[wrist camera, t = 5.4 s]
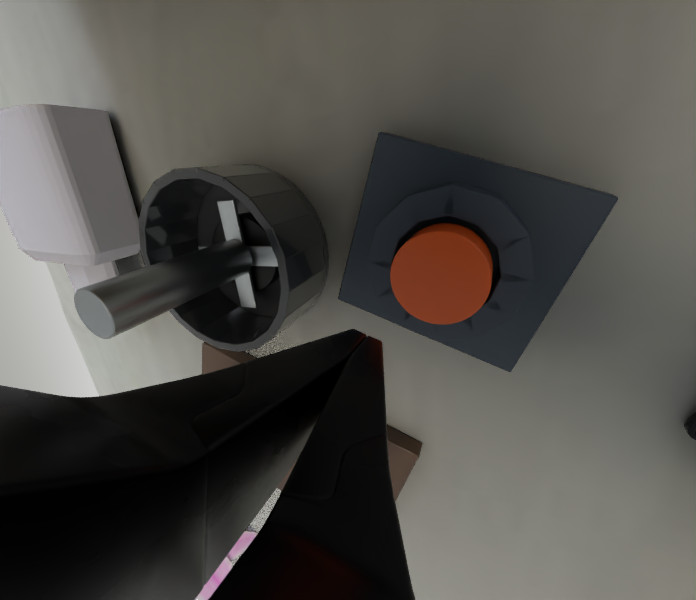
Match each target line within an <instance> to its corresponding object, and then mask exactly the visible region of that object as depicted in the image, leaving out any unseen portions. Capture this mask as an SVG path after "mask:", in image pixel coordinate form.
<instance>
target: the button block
mask: <svg viewBox="0 0 696 600" xmlns="http://www.w3.org/2000/svg"><path fill="white" fill-rule="evenodd" d="M617 200H618V197H617V196H614V195H612V194H609V193H605V192H602V191H598V190H594V189H591V188H587V187H583V186H580V185H576V184H572V183H569V182H565V181H562V180H558V179H554V178H551V177H547V176H543V175H540V174H536V173H532V172H529V171H525V170H521V169H518V168H514V167H510V166H507V165H503V164H499V163H496V162H492V161H488V160H485V159H481V158H477V157H474V156H470V155H466V154H463V153H459V152H455V151H452V150H448V149H445V148H441V147H437V146H434V145H430V144H426V143H423V142H419V141H415V140H412V139H408V138H404V137H401V136H397V135H393V134H390V133H385V132H379V134H378V138H377V142H376V146H375V150H374V154H373V158H372V162H371V166H370V170H369V175H368V179H367V183H366V187H365V191H364V195H363V199H362V203H361V207H360V211H359V215H358V219H357V223H356V227H355V231H354V235H353V240H352V244H351V248H350V252H349V256H348V260H347V264H346V268H345V272H344V276H343V280H342V284H341V288H340V292H339V296H338V299H339V300H342V301H344V302H346V303H349V304H351V305H353V306H356V307H358V308H360V309H363V310H365V311H368V312H370V313H372V314H375V315H377V316H379V317H382V318H384V319H386V320H389V321H391V322H393V323H396V324H398V325H400V326H402V327H404V328H407V329H409V330H411V331H414V332H416V333H419V334H421V335H423V336H426V337H428V338H430V339H433V340H436V341H438V342H440V343H443V344H445V345H447V346H450V347H452V348H454V349H457V350H459V351H461V352H464V353H466V354H468V355H471V356H473V357H475V358H478V359H480V360H483V361H485V362H487V363H490V364H492V365H494V366H497V367H499V368H501V369H504V370H506V371H508V372H511V371H512V369H513V367H514V366H515V364H516V363H517V361H518V359H519V358H520V356H521V355H522V353H523V351H524V350H525V348H526V347H527V345H528V343H529V342H530V340H531V339H532V337H533V335H534V334H535V332H536V330H537V329H538V327H539V326H540V324H541V322H542V321H543V319H544V318H545V316H546V314H547V313H548V311H549V310H550V308H551V306H552V305H553V303H554V302H555V300H556V298H557V297H558V295H559V294H560V292H561V290H562V289H563V287H564V285H565V284H566V282H567V281H568V279H569V277H570V276H571V274H572V273H573V271H574V269H575V268H576V266H577V265H578V263H579V261H580V260H581V258H582V257H583V255H584V253H585V252H586V250H587V249H588V247H589V245H590V244H591V242H592V240H593V239H594V237H595V236H596V234H597V232H598V231H599V229H600V228H601V226H602V224H603V223H604V221H605V220H606V218H607V216H608V215H609V213H610V212H611V210H612V208H613V207H614V205H615V203H616V202H617ZM438 223H454V224H458V225H462V226H464V227H467V228H469V229H470V230H472V231H474V232H475V233H476V234H478V235H479V236H480V237H481V238H482V239H483V241H484V242H485V243H486V245H487V247H488V248H489V251H490V253H491V256H492V261H493V272H492V283H491V289H490V293H489V295H488V298H487V300H486V301H485V303H484V304H483V306H482V307H481V308H480V309H479V310H478V311H477V312H476V313H475V314H473V315H472V316H471V317H469V318H467V319H465V320H463V321H460V322H457V323H453V324H432V323H428V322H425V321H422V320H420V319H418V318H416V317H414V316H413V315H411V314H410V313H408V312H407V311H406V310H405V309H404V308H403V307H402V306H401V304H400V303H399V302H398V300H397V299H396V297H395V295H394V292H393V290H392V286H391V281H390V271H391V265H392V262H393V259H394V257H395V255H396V253H397V252H398V250H399V249H400V248H401V247H402V246H403V245H404V244H405V243H406V242H407V241H408V240H409V239H410V238H411V237H412V236H413V235H414V234H415V233H417V232H418V231H419V230H421V229H423V228H425V227H427V226H430V225H433V224H438Z"/></svg>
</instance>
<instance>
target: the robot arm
mask: <svg viewBox="0 0 696 600" xmlns="http://www.w3.org/2000/svg"><path fill="white" fill-rule="evenodd" d="M684 428H685V430H686V431H687V433H688V434H689V435H690V437H692V438H693V439H695V440H696V412H695V413H694V414H693V415H692V416H691V417H690V418H689V419H688V420H687V421H686V422H685V424H684ZM297 459H298V460H297ZM296 461H297V462H296ZM295 462H296V464H295V466H294V468H293V470H292V472H291V474H290V476H289V478H288V480H287V482H286V484H285V486H284V488H283V490H282V492H281V494H280V497H279V498H278V500H277V502H276V504H275V506H274V508H273V509H272V511H271V513H270V515H269V517H268V518H267V520H266V522H265V524H264V525H263V527H262V529H261V530H260V531H259V533H258V534H257V535H256V537H255V538H254V539H253V541H252V542H251V543H250V545H249V546H248V547H247V549H246V550H245V551H244V553H243V554H242V555H241V557H240V558H239V559H238V561H237V562H236V563H235V565H234V566H233V567H232V569H231V570H230V571H229V573H228V574H227V575H226V577H225V578H224V579H223V581H222V582H221V583H220V585H219V586H218V587H217V589H216V590H215V591H214V593H213V594H212V595H211V597H210V598H209V599H208V600H415V596H414V592H413V589H412V584H411V579H410V575H409V570H408V565H407V560H406V555H405V550H404V545H403V540H402V535H401V529H400V524H399V519H398V514H397V509H396V504H395V499H394V493H393V487H392V481H391V475H390V465H389V454H388V438H387V423H386V404H385V385H384V366H383V347H382V342H381V341H380V340H378V339H375V338H373V337H371V336H366V334H364V333H362V332H359V331H357V330H355V329H351V330H347V331H344V332H341V333H338V334H335V335H331V336H328V337H325V338H322V339H318V340H315V341H312V342H309V343H306V344H302V345H299V346H296V347H293V348H290V349H286V350H283V351H280V352H277V353H273V354H270V355H267V356H264V357H261V358H257V359H254V360H251V361H248V362H247V365H246V363H241V364H238V365H234V366H231V367H228V368H224V369H221V370H217V371H214V372H210V373H207V374H202V375H198V376H194V377H190V378H186V379H181V380H177V381H172V382H168V383H163V384H159V385H154V386H149V387H145V388H140V389H136V390H131V391H127V392H122V393H117V394H112V395H107V396H99V397H85V398H84V397H83V398H80V397H66V396H59V395H53V394H46V393H41V392H36V391H30V390H24V389H18V388H13V387H7V386H1V385H0V600H195V599H196V597H197V596H198V595H199V593H200V592H201V591H202V589H203V587H204V585H205V584H207V582H208V581H209V579H210V578H211V577H212V575H213V574H214V573H215V571H216V570H217V569H218V567H219V566H220V564H221V563H222V562H223V560H224V559H225V558H226V556H227V555H228V553H229V552H230V551H231V549H232V548H233V547H234V545H235V544H236V543H237V541H238V540H239V538H240V537H241V536H242V534H243V533H244V532H245V530H246V529H247V528H248V526H249V525H250V523H251V522H252V521H253V519H254V518H255V517H256V515H257V514H258V512H259V511H260V510H261V508H262V507H263V506H264V504H265V503H266V502H267V500H268V499H269V497H270V496H271V495H272V493H273V492H274V491H275V489H276V488H277V487H278V485H279V484H280V482H281V481H282V480H283V478H284V477H285V476H286V474H287V473H288V471H289V470H290V469H291V467H292V466H293V465H294V463H295Z"/></svg>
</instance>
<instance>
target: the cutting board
mask: <svg viewBox="0 0 696 600" xmlns="http://www.w3.org/2000/svg"><path fill="white" fill-rule="evenodd" d="M254 359H257V358H255V357H253V356H251V355H249V354H247V353H245V352H243V351H240V352H236V351H231V350H226V349H221V348H217V347H215V346H213V345H211V344H209V343H207V342H204V343H203V346H202V374H207V373H210V372H214V371H217V370H221V369H224V368H228V367H231V366H234V365H238V364H241V363H246V365H247V362H248V361H251V360H254ZM387 438H388V454H389V465H390V475H391V481H392V487H393V493H394V499H395V501H396V499H397V497H398V495H399V493H400V491H401V489H402V487H403V486H404V484H405V482H406V480H407V478H408V476H409V474H410V472H411V470H412V469H413V467H414V465H415V463H416V461H417V459H418V457H419V454H420V451H421V447H422V443H421V442H419V441H417V440H415V439H413V438H411V437H409V436H407V435H405V434H403V433H401V432H399V431H397V430H395V429H393V428H391V427H389V426H387ZM297 460H298V459H297ZM296 462H297V461H296ZM296 462H295V463H294V465H293V466H292V467H291V469H290V470H289V471H288V473H287V474H286V476H285V477H284V478H283V480H282V481H281V482H280V484H279V485H278V487H277V488H278V489H280V490H283V488H284V486H285V484H286V482H287V480H288V478H289V476H290V474H291V472H292V470H293V468H294V466H295V464H296Z"/></svg>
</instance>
